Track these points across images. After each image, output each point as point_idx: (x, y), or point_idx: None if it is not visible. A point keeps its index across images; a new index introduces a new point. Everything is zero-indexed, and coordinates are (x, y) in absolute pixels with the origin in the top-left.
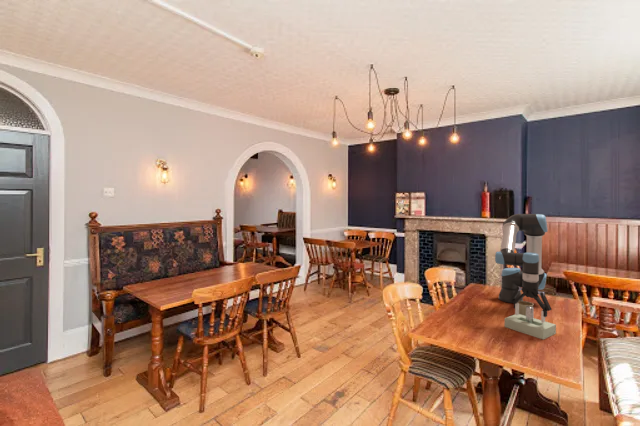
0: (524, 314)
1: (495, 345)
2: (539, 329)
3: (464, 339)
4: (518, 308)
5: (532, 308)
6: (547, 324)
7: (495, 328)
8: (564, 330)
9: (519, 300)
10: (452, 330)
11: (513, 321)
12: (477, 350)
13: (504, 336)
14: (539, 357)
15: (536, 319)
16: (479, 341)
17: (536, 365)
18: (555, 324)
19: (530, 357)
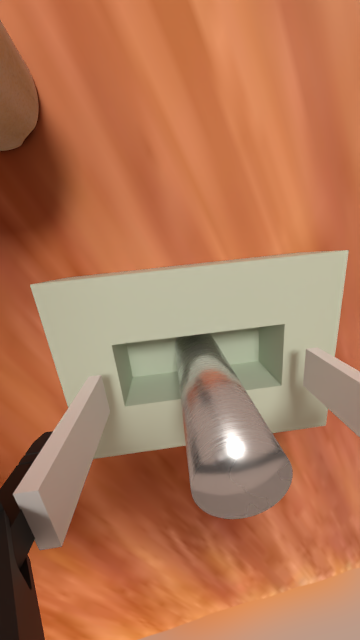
0: (1, 128)
1: (215, 559)
2: (302, 426)
3: (135, 601)
4: (80, 426)
5: (285, 484)
6: (306, 312)
7: (102, 464)
8: (315, 131)
9: (15, 583)
10: (55, 595)
11: (146, 447)
12: (208, 609)
13: (182, 492)
14: (337, 516)
15: (207, 280)
16: (169, 577)
17: (348, 552)
18: (345, 254)
19: (320, 534)
